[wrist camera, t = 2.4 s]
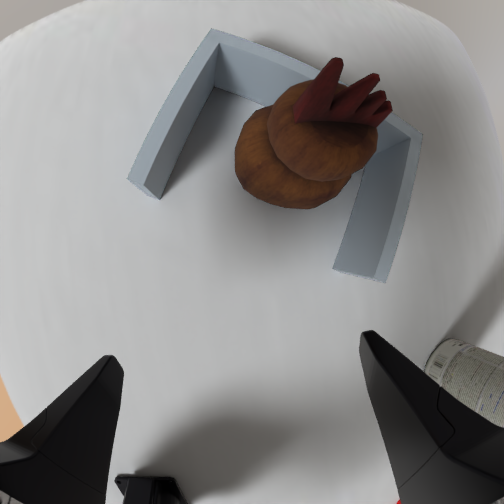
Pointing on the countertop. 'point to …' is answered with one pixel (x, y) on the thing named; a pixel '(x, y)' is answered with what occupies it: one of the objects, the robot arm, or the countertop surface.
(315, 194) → the wooden figurine
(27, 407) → the countertop surface
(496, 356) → the spray can
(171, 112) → the cubby
